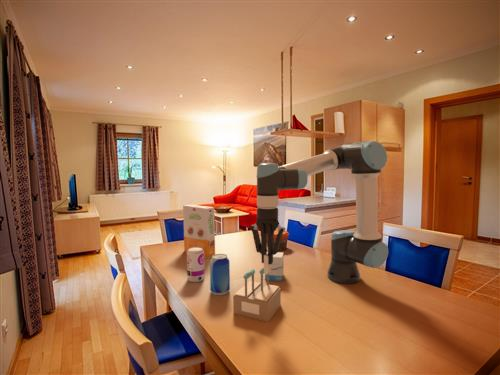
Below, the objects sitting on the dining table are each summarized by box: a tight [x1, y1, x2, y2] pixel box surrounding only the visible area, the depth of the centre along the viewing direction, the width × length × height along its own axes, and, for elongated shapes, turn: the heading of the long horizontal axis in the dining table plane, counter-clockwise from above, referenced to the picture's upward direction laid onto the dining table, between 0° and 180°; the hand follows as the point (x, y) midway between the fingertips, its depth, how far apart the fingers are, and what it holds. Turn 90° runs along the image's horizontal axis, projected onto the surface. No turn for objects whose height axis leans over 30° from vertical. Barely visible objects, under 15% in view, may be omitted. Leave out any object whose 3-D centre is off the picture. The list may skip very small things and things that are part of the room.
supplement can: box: [186, 247, 205, 283], centre depth 137 cm, size 8×8×15 cm
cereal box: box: [182, 204, 216, 259], centre depth 178 cm, size 22×6×30 cm, turn 50°
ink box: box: [264, 251, 285, 282], centre depth 139 cm, size 8×8×12 cm
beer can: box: [209, 253, 231, 296], centre depth 123 cm, size 8×8×16 cm
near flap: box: [254, 266, 280, 302], centre depth 106 cm, size 6×14×8 cm, turn 155°
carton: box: [232, 284, 282, 323], centre depth 108 cm, size 14×13×7 cm
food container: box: [267, 229, 290, 251], centre depth 189 cm, size 16×16×11 cm
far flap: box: [234, 268, 261, 298], centre depth 109 cm, size 6×14×8 cm, turn 155°
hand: (267, 272), depth 101 cm, fingers closed
